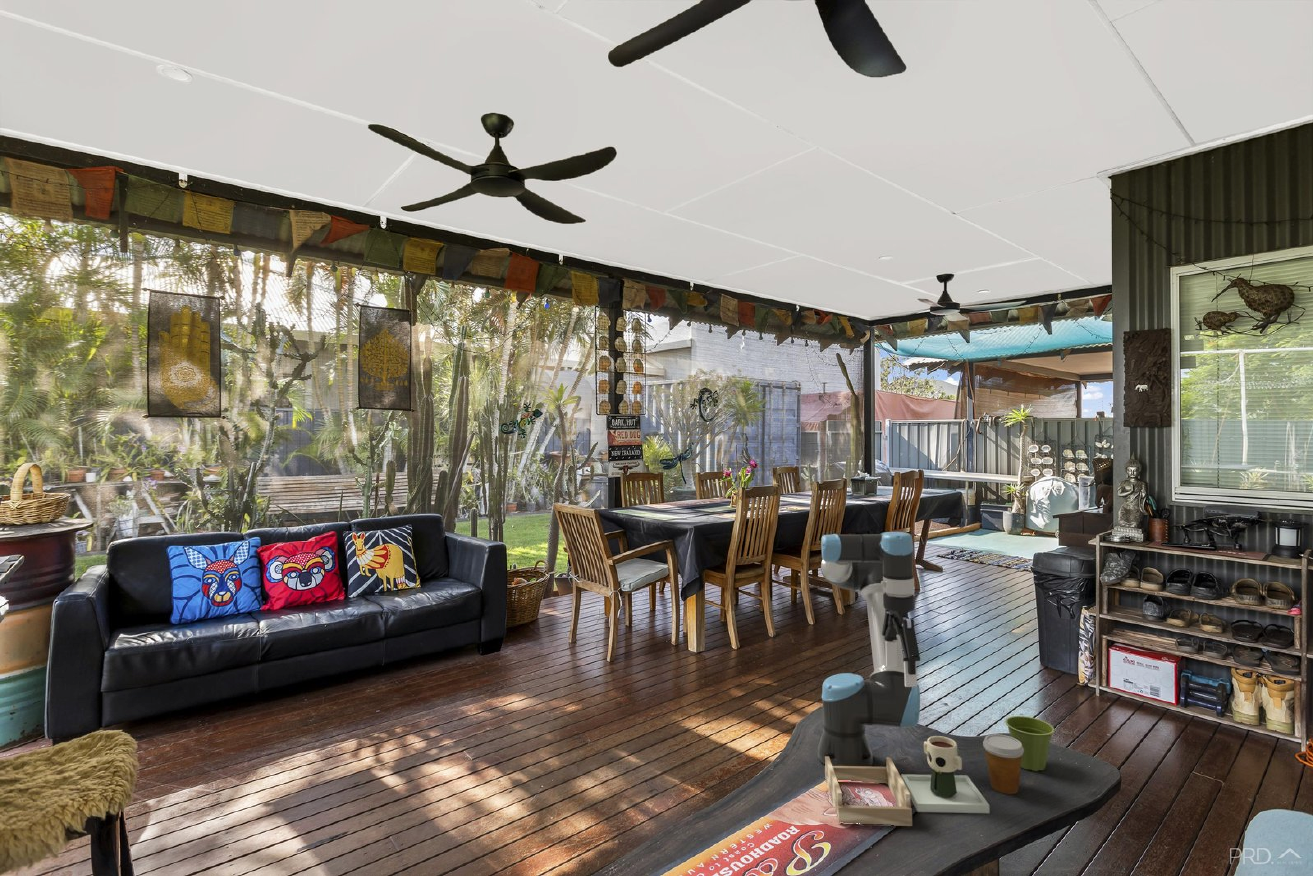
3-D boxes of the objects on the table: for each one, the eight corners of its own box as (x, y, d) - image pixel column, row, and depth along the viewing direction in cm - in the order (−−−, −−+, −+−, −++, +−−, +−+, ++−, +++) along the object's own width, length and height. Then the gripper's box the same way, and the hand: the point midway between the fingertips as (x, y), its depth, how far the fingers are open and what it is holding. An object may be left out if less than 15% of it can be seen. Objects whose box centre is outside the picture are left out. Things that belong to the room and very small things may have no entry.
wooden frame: (825, 780, 177) (824, 754, 177) (890, 781, 175) (889, 755, 175) (839, 824, 157) (838, 795, 157) (912, 826, 155) (911, 796, 155)
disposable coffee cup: (1031, 799, 165) (1029, 751, 165) (990, 796, 167) (988, 749, 167) (1018, 779, 174) (1016, 734, 174) (979, 777, 176) (978, 732, 176)
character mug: (916, 787, 170) (914, 737, 170) (934, 779, 174) (932, 730, 174) (953, 807, 161) (951, 754, 161) (971, 798, 164) (970, 746, 164)
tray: (901, 782, 175) (901, 774, 175) (967, 783, 174) (967, 775, 174) (917, 811, 161) (917, 803, 161) (989, 813, 160) (989, 805, 160)
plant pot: (1045, 781, 173) (1043, 738, 173) (998, 764, 183) (997, 724, 183) (1062, 766, 181) (1061, 725, 181) (1017, 751, 190) (1016, 712, 190)
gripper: (868, 582, 180) (870, 658, 181) (901, 607, 155) (903, 696, 156) (896, 581, 180) (898, 657, 181) (933, 606, 155) (935, 695, 156)
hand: (900, 675), depth 168 cm, fingers open, 13 cm apart
